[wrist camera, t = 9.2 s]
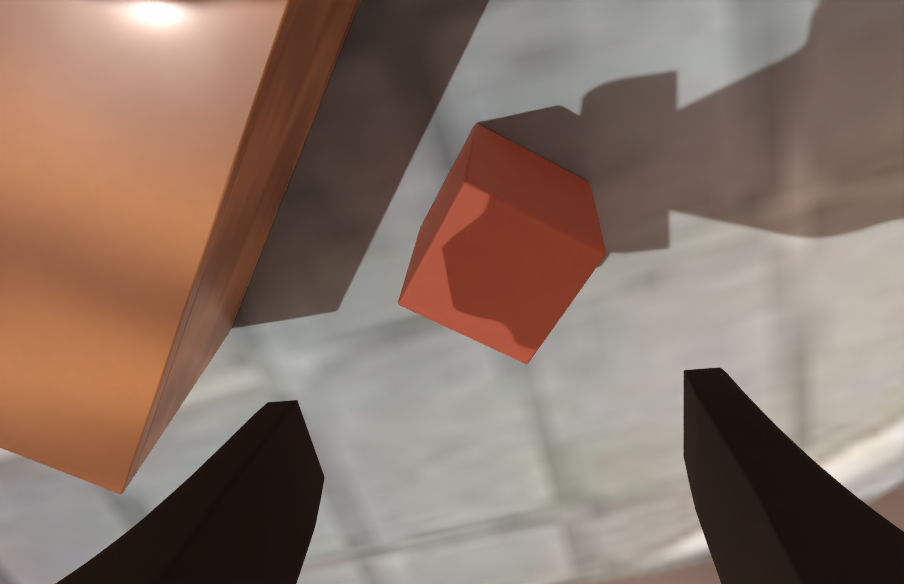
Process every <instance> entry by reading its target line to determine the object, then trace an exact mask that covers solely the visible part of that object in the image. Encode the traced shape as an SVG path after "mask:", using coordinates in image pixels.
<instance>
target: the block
mask: <svg viewBox="0 0 904 584" xmlns="http://www.w3.org/2000/svg"><path fill="white" fill-rule="evenodd" d="M605 254H606V250H605V246H604V241H603V237H602V233H601V229H600V224H599V220H598V216H597V211H596V207H595V203H594V198H593V194H592V190H591V186H590V183H589V182H588V181H586V180H584V179H582V178H580V177H579V176H577V175H575V174H573V173H571V172H569V171H567V170H565V169H563V168H561V167H559V166H557V165H556V164H554V163H552V162H550V161H548V160H546V159H544V158H542V157H540V156H538V155H536V154H534V153H533V152H531V151H529V150H527V149H525V148H523V147H521V146H519V145H517V144H515V143H513V142H511V141H510V140H508V139H506V138H504V137H502V136H500V135H498V134H496V133H494V132H492V131H490V130H489V129H487V128H485V127H483V126H481V125H479V124H476V125H474V127H473V129H472V131H471V133H470V135H469V137H468V138H467V140H466V142H465V144H464V146H463V148H462V150H461V152H460V154H459V155H458V157H457V159H456V161H455V163H454V165H453V167H452V169H451V171H450V172H449V174H448V176H447V178H446V180H445V182H444V184H443V186H442V188H441V190H440V191H439V193H438V195H437V197H436V199H435V201H434V203H433V205H432V207H431V208H430V210H429V212H428V214H427V216H426V218H425V220H424V222H423V224H422V226H421V227H420V231H419V234H418V237H417V241H416V244H415V247H414V251H413V254H412V257H411V261H410V264H409V267H408V271H407V274H406V277H405V281H404V284H403V287H402V291H401V294H400V297H399V301H398V304H399V305H400V306H402V307H405V308H407V309H409V310H411V311H413V312H415V313H418V314H420V315H422V316H424V317H426V318H428V319H430V320H433V321H435V322H437V323H439V324H441V325H443V326H445V327H448V328H450V329H452V330H454V331H456V332H458V333H461V334H463V335H465V336H467V337H469V338H471V339H473V340H476V341H478V342H480V343H482V344H484V345H486V346H488V347H491V348H493V349H495V350H497V351H499V352H501V353H504V354H506V355H508V356H510V357H512V358H514V359H516V360H519V361H521V362H523V363H525V364H527V363H529V361H530V360H531V358H532V357H533V356H534V354H535V353H536V351H537V350H538V349H539V347H540V346H541V344H542V343H543V342H544V340H545V339H546V337H547V336H548V335H549V333H550V332H551V330H552V329H553V328H554V326H555V325H556V323H557V322H558V321H559V319H560V318H561V316H562V315H563V314H564V312H565V311H566V309H567V308H568V306H569V305H570V304H571V302H572V301H573V299H574V298H575V297H576V295H577V294H578V292H579V291H580V290H581V288H582V287H583V285H584V284H585V283H586V281H587V280H588V278H589V277H590V276H591V274H592V273H593V271H594V270H595V269H596V267H597V266H598V264H599V263H600V262H601V260H602V259H603V257H604V256H605Z"/></svg>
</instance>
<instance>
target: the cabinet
mask: <svg viewBox="0 0 904 584" xmlns="http://www.w3.org/2000/svg"><path fill="white" fill-rule="evenodd" d="M359 3H360V0H0V448H3V449H5V450H8V451H10V452H13V453H16V454H18V455H21V456H23V457H26V458H28V459H31V460H34V461H36V462H39V463H41V464H44V465H46V466H49V467H52V468H54V469H57V470H59V471H62V472H64V473H67V474H70V475H72V476H75V477H77V478H80V479H83V480H85V481H88V482H90V483H93V484H95V485H98V486H101V487H103V488H106V489H108V490H111V491H113V492H116V493H119V494H122V493H123V492H124V491H125V489H126V488H127V486H128V485H129V483H130V482H131V480H132V478H133V477H134V476H135V474H136V473H137V471H138V470H139V468H140V467H141V465H142V464H143V462H144V460H145V459H146V457H147V456H148V454H149V453H150V451H151V450H152V448H153V447H154V445H155V444H156V442H157V441H158V439H159V438H160V436H161V435H162V433H163V432H164V430H165V429H166V427H167V426H168V424H169V423H170V421H171V420H172V418H173V417H174V415H175V414H176V412H177V411H178V409H179V408H180V406H181V405H182V403H183V401H184V400H185V398H186V397H187V395H188V394H189V392H190V391H191V389H192V388H193V386H194V385H195V383H196V382H197V380H198V379H199V377H200V376H201V374H202V373H203V371H204V370H205V368H206V367H207V365H208V364H209V362H210V361H211V359H212V358H213V356H214V355H215V353H216V352H217V350H218V349H219V347H220V345H221V344H222V342H223V341H224V339H225V337H226V336H227V335H228V333H229V332H230V330H231V328H232V326H233V323H234V320H235V318H236V315H237V313H238V310H239V308H240V305H241V303H242V300H243V298H244V295H245V293H246V290H247V287H248V285H249V282H250V280H251V277H252V275H253V272H254V270H255V267H256V265H257V262H258V259H259V257H260V254H261V252H262V249H263V247H264V244H265V242H266V239H267V237H268V234H269V232H270V229H271V226H272V224H273V221H274V219H275V216H276V214H277V211H278V209H279V206H280V204H281V201H282V199H283V196H284V193H285V191H286V188H287V186H288V183H289V181H290V178H291V176H292V173H293V171H294V168H295V166H296V163H297V160H298V158H299V155H300V153H301V150H302V148H303V145H304V143H305V140H306V138H307V135H308V132H309V130H310V127H311V125H312V122H313V120H314V117H315V115H316V112H317V110H318V107H319V105H320V102H321V99H322V97H323V94H324V92H325V89H326V87H327V84H328V82H329V79H330V77H331V74H332V72H333V69H334V66H335V64H336V61H337V59H338V56H339V54H340V51H341V49H342V46H343V44H344V41H345V38H346V36H347V33H348V31H349V28H350V26H351V23H352V21H353V18H354V16H355V13H356V11H357V8H358V5H359Z"/></svg>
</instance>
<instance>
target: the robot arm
mask: <svg viewBox="0 0 904 584" xmlns="http://www.w3.org/2000/svg"><path fill="white" fill-rule="evenodd" d="M684 460H685V465H686V470H687V474H688V479H689V483H690V488H691V492H692V497H693V501H694V505H695V509H696V512H697V515H698V518H699V521H700V524H701V527H702V530H703V533H704V536H705V538H706V541H707V544H708V547H709V550H710V553H711V556H712V558H713V561H714V564H715V567H716V570H717V572H718V575H719V578H720V581H721V584H904V532H903V531H902V530H900V529H899V528H898V527H896V526H895V525H893V524H892V523H891V522H889V521H888V520H887V519H885V518H884V517H882V516H881V515H880V514H878V513H877V512H876V511H874V510H873V509H872V508H870V507H869V506H868V505H866V504H865V503H864V502H863V501H861V500H860V499H859V498H857V497H856V496H855V495H854V494H853V493H851V492H850V491H849V490H848V489H846V488H845V487H844V486H843V485H841V484H840V483H839V482H838V481H837V480H836V479H834V478H833V477H832V476H831V475H830V474H828V473H827V472H826V471H825V470H824V469H823V468H821V467H820V466H819V465H818V464H817V463H816V462H815V461H814V460H812V459H811V458H810V457H809V456H808V455H807V454H806V453H805V452H804V451H802V450H801V449H800V448H799V447H798V446H797V445H796V444H795V443H794V442H793V441H792V440H791V439H790V438H789V437H788V436H787V435H786V434H785V433H783V432H782V431H781V430H780V429H779V428H778V427H777V426H776V425H775V424H774V423H773V422H772V421H771V420H770V419H769V418H768V417H767V416H766V415H765V414H764V413H763V412H762V411H761V410H760V409H759V408H758V406H757V405H756V404H755V403H754V402H753V401H752V400H751V399H750V398H749V397H748V396H747V395H746V394H745V393H744V392H743V391H742V389H741V388H740V387H739V386H738V385H737V384H736V383H735V382H734V381H733V380H732V378H731V377H730V376H729V375H728V374H727V373H726V372H725V371H724V370H723V369H721V368H708V369H695V370H684ZM323 483H324V475H323V472H322V469H321V466H320V463H319V460H318V458H317V455H316V452H315V449H314V446H313V443H312V441H311V438H310V435H309V432H308V429H307V427H306V424H305V421H304V418H303V415H302V412H301V410H300V407H299V404H298V401H297V400H294V401H281V402H268V403H267V404H265V405H264V406H263V407H262V408H261V409H260V410H259V411H258V412H257V413H255V414H254V415H253V416H252V417H251V418H250V419H249V420H248V421H247V422H246V423H245V424H244V425H243V426H242V427H241V428H240V429H239V430H238V431H237V432H236V433H235V434H234V435H233V436H232V437H231V438H230V439H229V440H228V441H227V442H226V443H225V444H224V445H223V446H222V447H221V448H220V449H219V450H218V451H217V452H215V453H214V454H213V455H212V456H211V457H210V458H209V459H208V460H207V461H206V462H205V463H204V464H203V465H202V466H201V467H200V468H199V469H198V470H197V471H196V472H195V473H194V474H193V475H192V476H191V477H190V478H188V479H187V480H186V481H185V482H184V483H183V484H182V485H181V486H179V487H178V488H177V489H176V490H175V491H174V492H173V493H172V494H171V495H169V496H168V497H167V498H166V499H165V500H164V501H163V502H162V503H160V504H159V505H158V506H157V507H156V508H155V509H154V510H153V511H152V512H150V513H149V514H148V515H147V516H146V517H145V518H143V519H142V520H141V521H140V522H139V523H137V524H136V525H135V526H134V527H132V528H131V529H130V530H129V531H128V532H126V533H125V534H124V535H123V536H121V537H120V538H119V539H117V540H116V541H115V542H113V543H112V544H111V545H109V546H108V547H107V548H106V549H104V550H103V551H102V552H100V553H99V554H98V555H96V556H95V557H94V558H92V559H91V560H90V561H88V562H87V563H85V564H84V565H82V566H81V567H79V568H78V569H77V570H75V571H74V572H72V573H71V574H69V575H68V576H66V577H65V578H63V579H62V580H60V581H59V582H57V583H56V584H296V583H297V580H298V577H299V574H300V571H301V568H302V565H303V562H304V559H305V556H306V553H307V550H308V547H309V544H310V541H311V538H312V535H313V532H314V528H315V525H316V520H317V515H318V510H319V505H320V500H321V494H322V489H323Z"/></svg>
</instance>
